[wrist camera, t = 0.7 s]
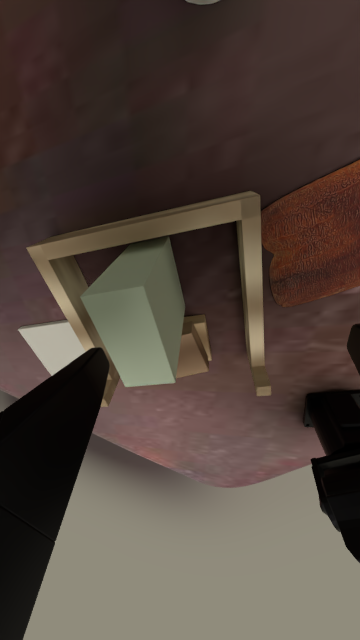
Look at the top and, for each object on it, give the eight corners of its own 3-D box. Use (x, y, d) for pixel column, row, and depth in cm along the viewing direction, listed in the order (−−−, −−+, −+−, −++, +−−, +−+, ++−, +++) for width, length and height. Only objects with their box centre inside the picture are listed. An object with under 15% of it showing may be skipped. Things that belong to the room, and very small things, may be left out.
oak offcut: (211, 348, 27) (211, 360, 25) (153, 354, 28) (150, 365, 26) (204, 311, 24) (204, 322, 22) (141, 320, 25) (137, 330, 24)
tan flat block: (208, 357, 25) (208, 371, 23) (158, 369, 26) (155, 382, 25) (192, 320, 22) (191, 333, 21) (138, 336, 24) (133, 348, 22)
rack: (257, 350, 26) (270, 395, 21) (116, 365, 29) (97, 407, 24) (250, 190, 17) (269, 199, 12) (51, 236, 20) (2, 258, 15)
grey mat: (115, 379, 30) (114, 383, 30) (62, 384, 32) (60, 388, 31) (83, 317, 25) (80, 320, 24) (21, 326, 26) (17, 329, 26)
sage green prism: (185, 306, 23) (175, 382, 15) (152, 310, 24) (125, 386, 16) (168, 235, 20) (143, 285, 11) (130, 243, 20) (80, 296, 12)
